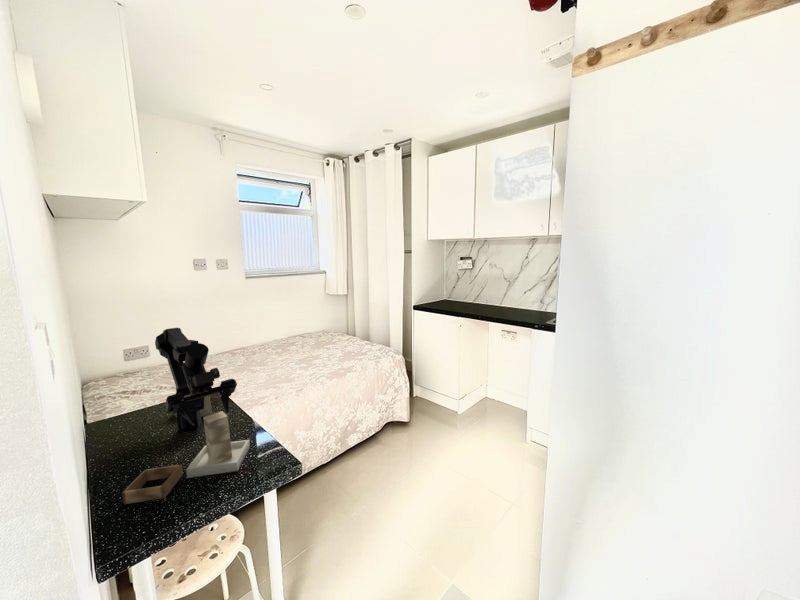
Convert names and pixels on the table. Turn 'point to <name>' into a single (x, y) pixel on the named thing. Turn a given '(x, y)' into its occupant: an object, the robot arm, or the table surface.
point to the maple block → (217, 437)
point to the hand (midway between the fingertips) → (211, 418)
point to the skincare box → (206, 407)
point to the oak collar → (152, 493)
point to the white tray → (205, 467)
